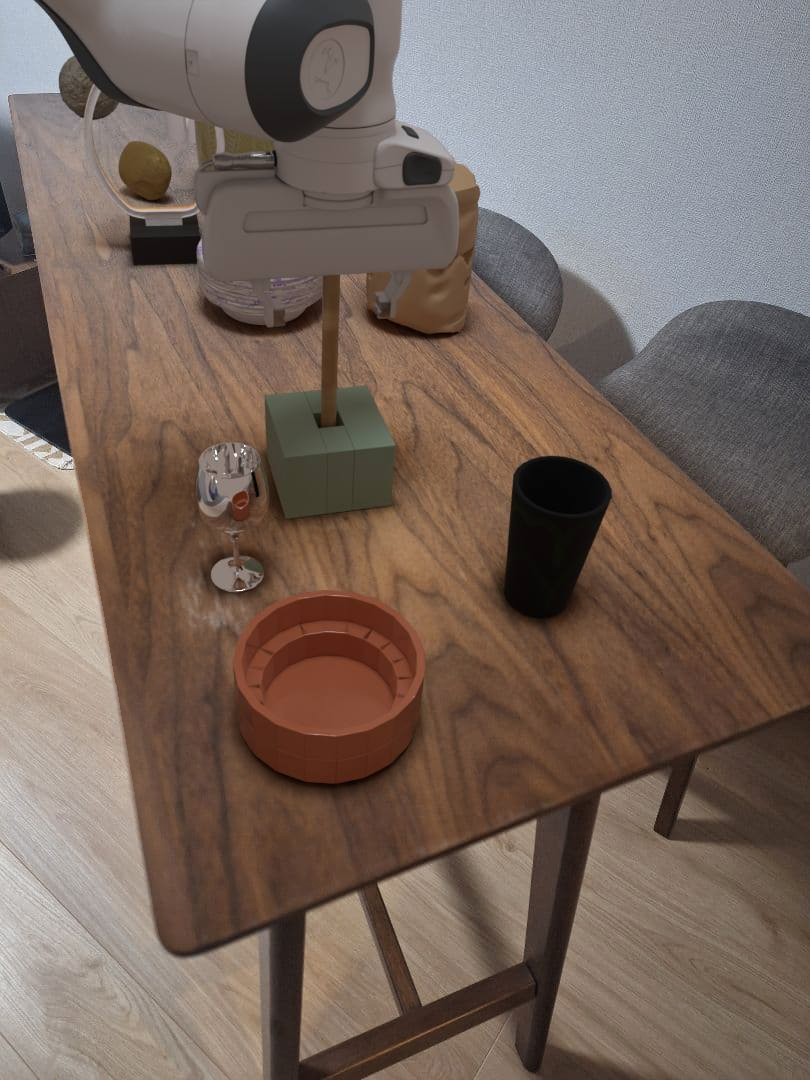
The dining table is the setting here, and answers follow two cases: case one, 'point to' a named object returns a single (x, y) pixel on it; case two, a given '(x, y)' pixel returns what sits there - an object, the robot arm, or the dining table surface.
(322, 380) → the stirring stick
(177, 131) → the cup
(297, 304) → the paper bowls
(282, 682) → the orange round piece
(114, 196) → the lamp
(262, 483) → the wineglass
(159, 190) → the potato
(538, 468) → the cup
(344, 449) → the stick stand
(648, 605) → the dining table surface
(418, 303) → the container
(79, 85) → the decorative stone
